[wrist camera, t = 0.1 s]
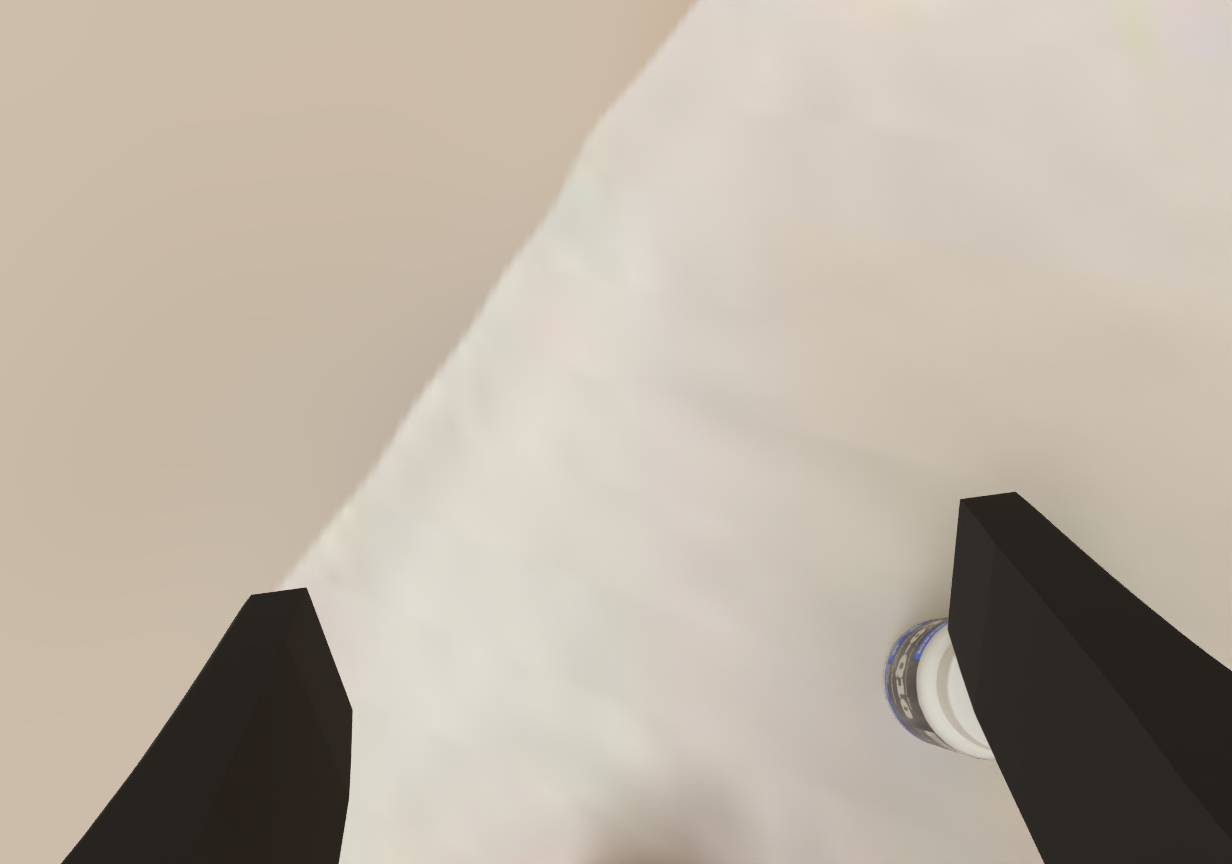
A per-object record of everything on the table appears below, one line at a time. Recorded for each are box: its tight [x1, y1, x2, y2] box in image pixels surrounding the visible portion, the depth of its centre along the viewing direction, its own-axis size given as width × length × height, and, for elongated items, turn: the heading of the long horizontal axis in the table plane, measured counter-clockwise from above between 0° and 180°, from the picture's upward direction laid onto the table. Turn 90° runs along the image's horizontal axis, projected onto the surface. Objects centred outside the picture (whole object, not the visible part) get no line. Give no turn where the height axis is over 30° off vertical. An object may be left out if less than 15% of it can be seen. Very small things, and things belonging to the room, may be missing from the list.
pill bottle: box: [883, 618, 995, 760], centre depth 39 cm, size 5×5×8 cm
